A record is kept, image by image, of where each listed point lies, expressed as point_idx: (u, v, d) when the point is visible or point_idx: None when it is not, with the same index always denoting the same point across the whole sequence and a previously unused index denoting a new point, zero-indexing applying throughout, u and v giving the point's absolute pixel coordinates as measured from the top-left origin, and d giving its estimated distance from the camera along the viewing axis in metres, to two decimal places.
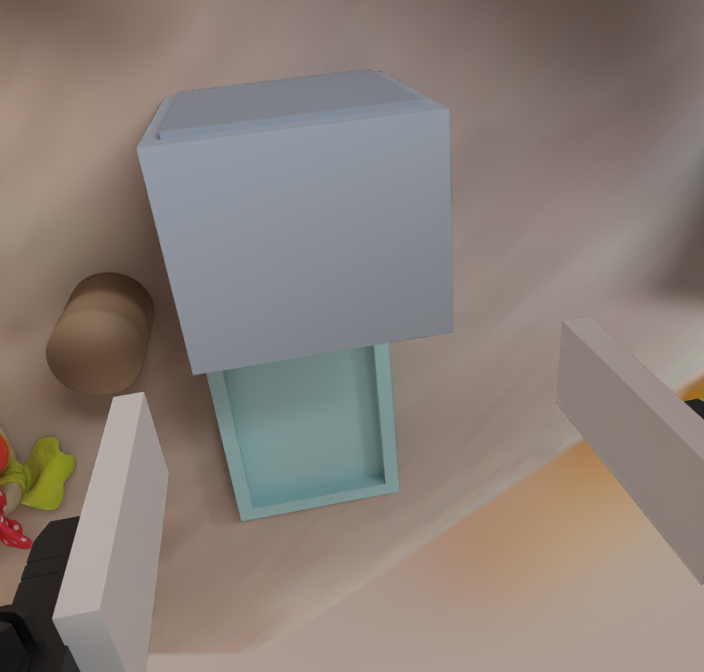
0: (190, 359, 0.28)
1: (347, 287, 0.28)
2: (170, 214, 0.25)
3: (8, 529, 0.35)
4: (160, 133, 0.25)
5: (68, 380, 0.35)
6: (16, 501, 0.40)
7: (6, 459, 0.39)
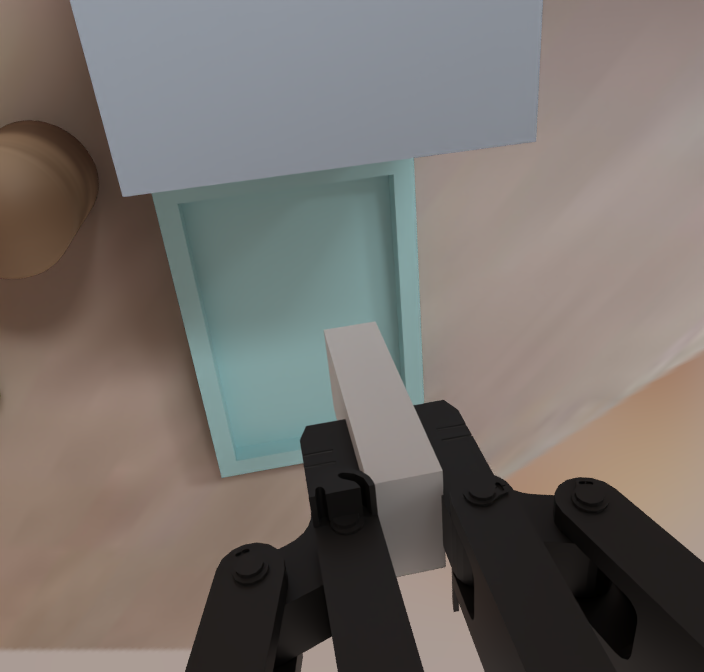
0: (117, 167, 0.17)
1: (373, 45, 0.17)
2: None
3: None
4: None
5: None
6: None
7: None
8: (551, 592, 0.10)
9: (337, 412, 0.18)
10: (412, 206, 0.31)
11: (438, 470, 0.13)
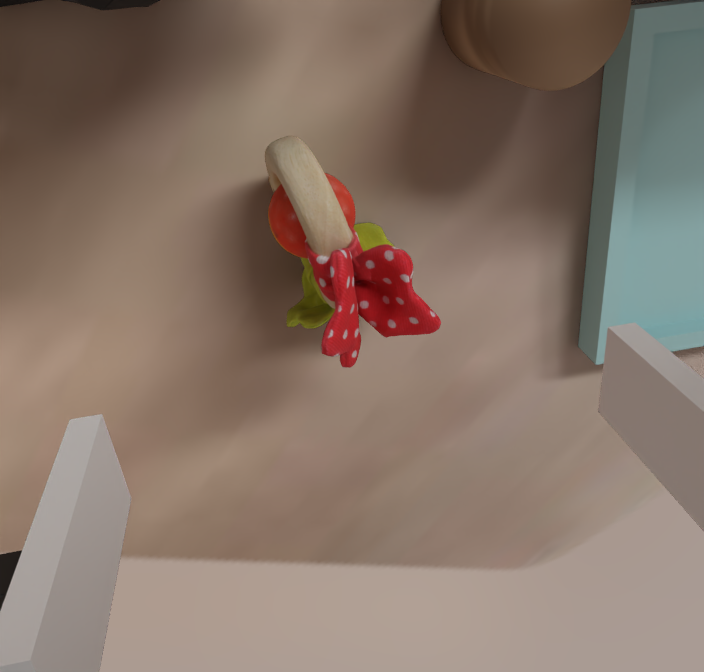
0: None
1: None
2: None
3: (415, 294, 0.22)
4: None
5: (510, 56, 0.22)
6: None
7: (354, 221, 0.26)
8: None
9: None
10: None
11: None
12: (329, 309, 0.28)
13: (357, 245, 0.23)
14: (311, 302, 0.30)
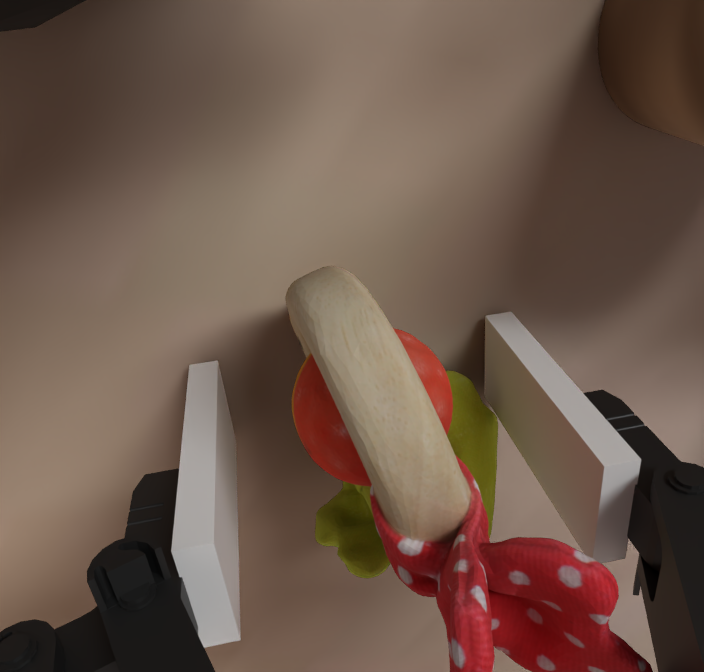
0: None
1: None
2: None
3: (612, 636, 0.10)
4: None
5: None
6: None
7: None
8: None
9: None
10: None
11: (636, 458, 0.12)
12: None
13: (481, 514, 0.11)
14: (357, 504, 0.18)
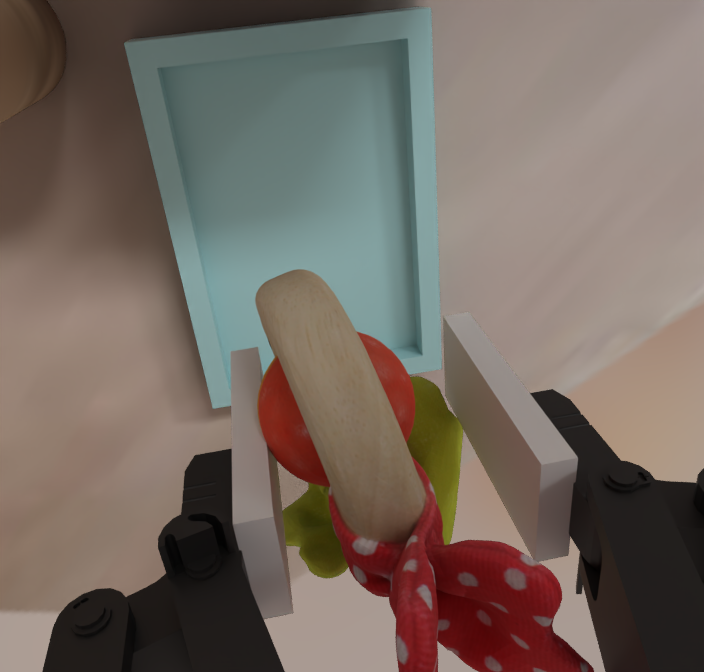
0: None
1: None
2: None
3: (555, 638, 0.11)
4: None
5: None
6: None
7: None
8: (683, 584, 0.10)
9: None
10: (429, 79, 0.27)
11: (573, 457, 0.13)
12: None
13: (435, 517, 0.11)
14: (321, 505, 0.18)
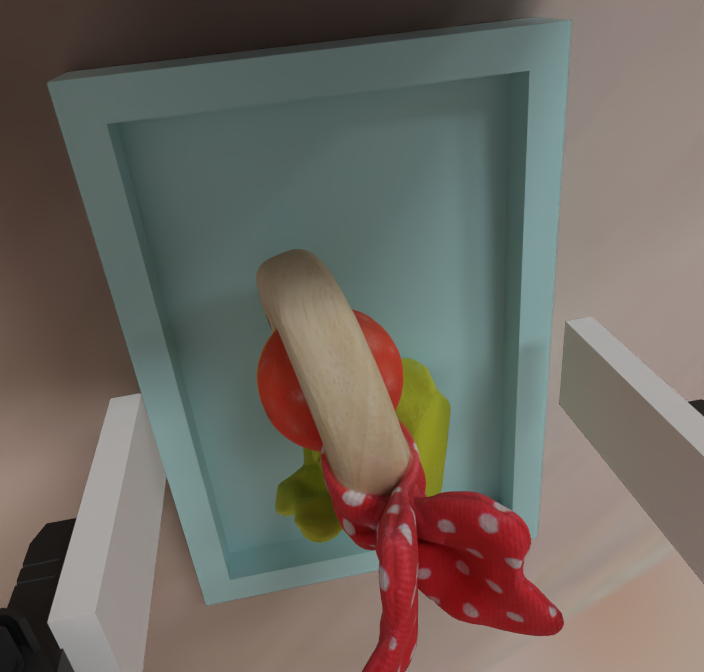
0: None
1: None
2: None
3: (526, 582, 0.12)
4: None
5: None
6: None
7: None
8: None
9: None
10: (558, 137, 0.16)
11: None
12: None
13: (418, 472, 0.13)
14: (315, 478, 0.20)
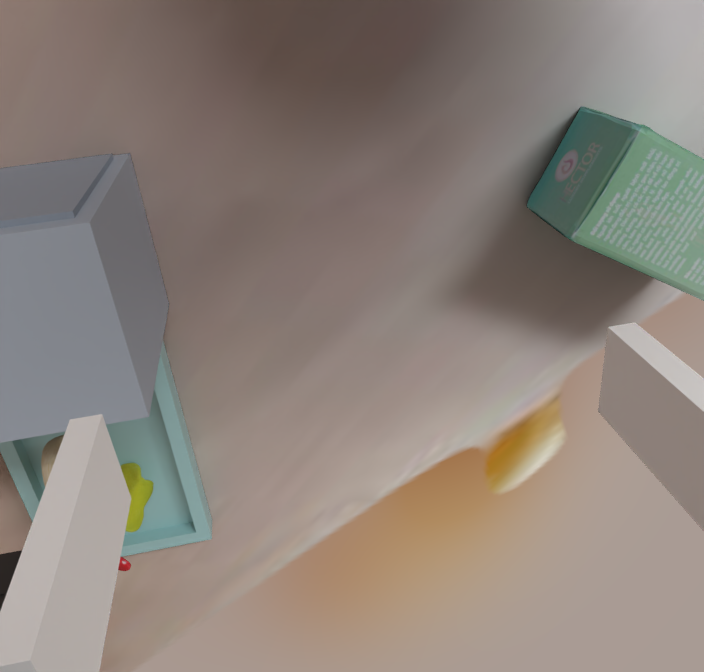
0: None
1: (28, 380, 0.30)
2: None
3: None
4: None
5: None
6: None
7: None
8: None
9: None
10: (167, 388, 0.44)
11: None
12: None
13: None
14: None
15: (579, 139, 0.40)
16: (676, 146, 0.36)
